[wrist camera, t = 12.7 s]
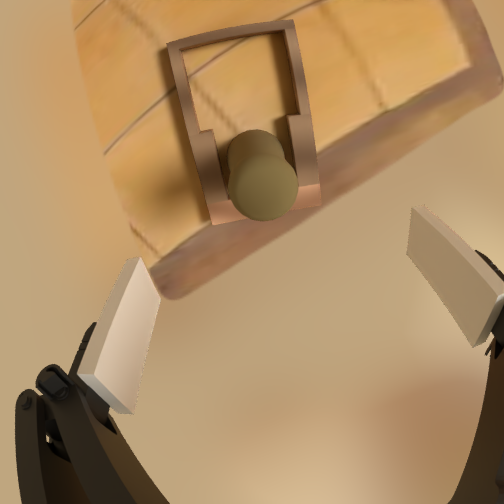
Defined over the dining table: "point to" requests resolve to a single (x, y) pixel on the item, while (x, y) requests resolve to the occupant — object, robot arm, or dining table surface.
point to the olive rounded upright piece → (260, 176)
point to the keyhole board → (204, 140)
